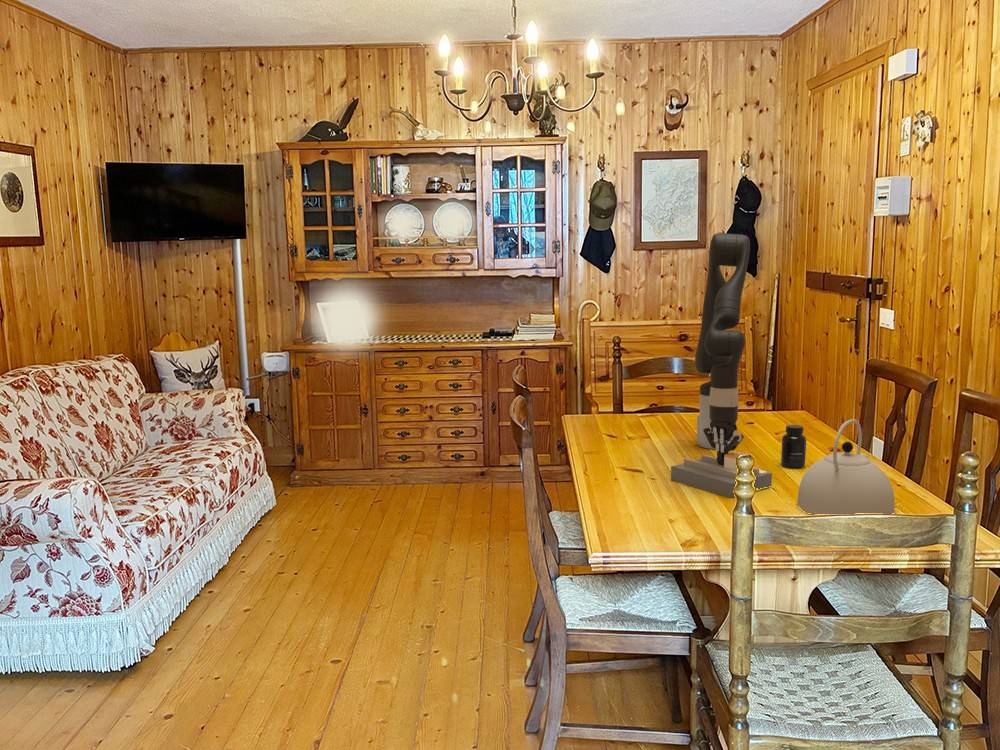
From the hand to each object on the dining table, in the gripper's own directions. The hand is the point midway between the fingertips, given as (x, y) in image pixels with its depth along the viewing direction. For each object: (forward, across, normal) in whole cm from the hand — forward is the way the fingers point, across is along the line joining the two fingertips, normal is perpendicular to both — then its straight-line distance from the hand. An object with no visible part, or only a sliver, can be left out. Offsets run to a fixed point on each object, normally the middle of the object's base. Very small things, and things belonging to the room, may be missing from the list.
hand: (722, 464), depth 238 cm
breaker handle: (+1, +4, 0) cm, 4 cm away
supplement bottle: (+6, 0, +30) cm, 31 cm away
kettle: (+6, +33, +9) cm, 34 cm away
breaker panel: (+6, -1, 0) cm, 6 cm away
